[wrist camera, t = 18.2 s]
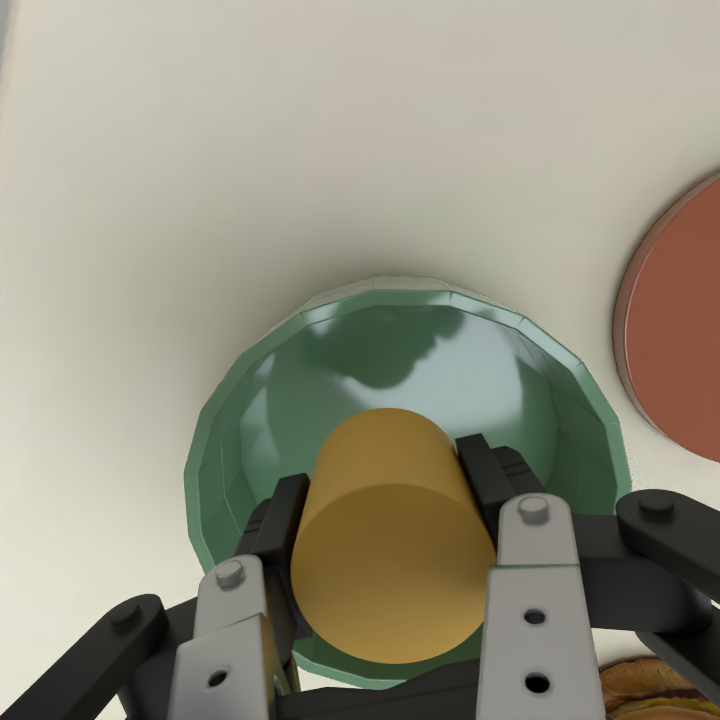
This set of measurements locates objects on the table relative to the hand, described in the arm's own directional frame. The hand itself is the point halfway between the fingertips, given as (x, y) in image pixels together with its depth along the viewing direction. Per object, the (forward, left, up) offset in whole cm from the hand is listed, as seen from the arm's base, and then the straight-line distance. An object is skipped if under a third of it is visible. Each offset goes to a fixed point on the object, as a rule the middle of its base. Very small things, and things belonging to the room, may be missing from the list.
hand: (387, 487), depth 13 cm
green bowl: (+1, +2, -9) cm, 9 cm away
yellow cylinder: (0, 0, -1) cm, 1 cm away
